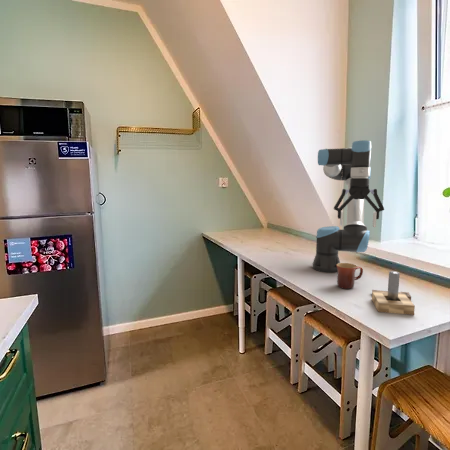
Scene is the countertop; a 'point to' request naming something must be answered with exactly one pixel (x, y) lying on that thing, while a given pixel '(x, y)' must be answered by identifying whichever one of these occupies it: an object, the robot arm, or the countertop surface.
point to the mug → (347, 275)
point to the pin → (393, 286)
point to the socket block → (393, 303)
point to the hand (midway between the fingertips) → (357, 226)
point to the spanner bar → (398, 292)
